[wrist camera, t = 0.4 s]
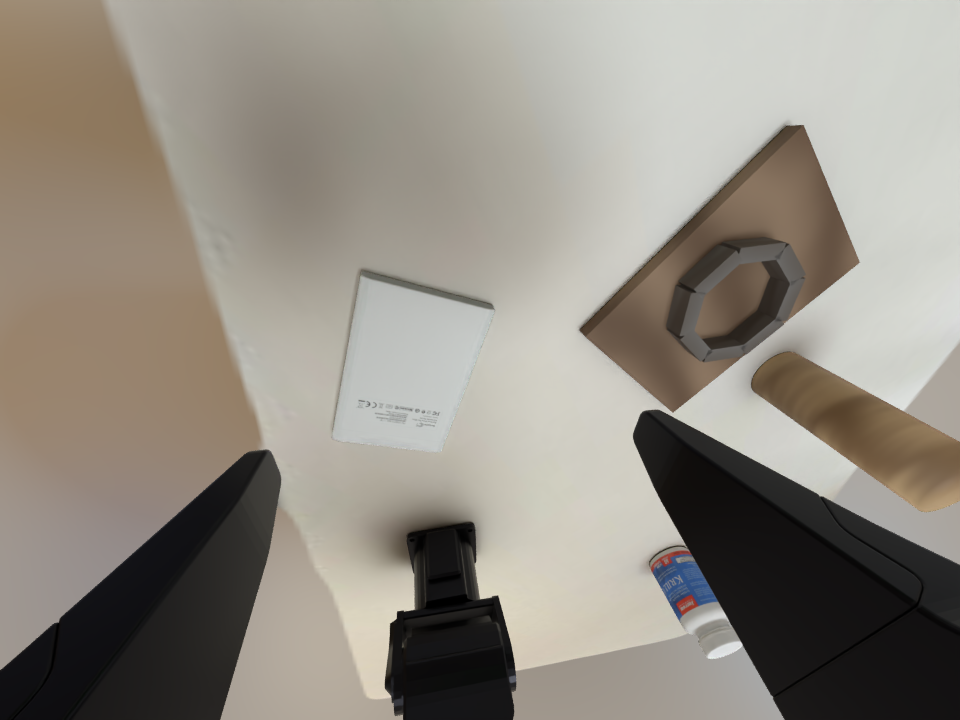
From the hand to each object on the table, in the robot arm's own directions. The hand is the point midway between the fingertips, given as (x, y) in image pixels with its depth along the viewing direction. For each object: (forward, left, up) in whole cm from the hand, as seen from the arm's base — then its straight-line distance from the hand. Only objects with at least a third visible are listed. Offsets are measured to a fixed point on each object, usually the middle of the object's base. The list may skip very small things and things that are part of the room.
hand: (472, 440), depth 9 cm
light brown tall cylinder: (-11, -29, -15) cm, 34 cm away
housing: (-3, -20, -15) cm, 24 cm away
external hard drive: (-7, +2, -15) cm, 17 cm away
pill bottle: (-39, -26, -15) cm, 50 cm away
